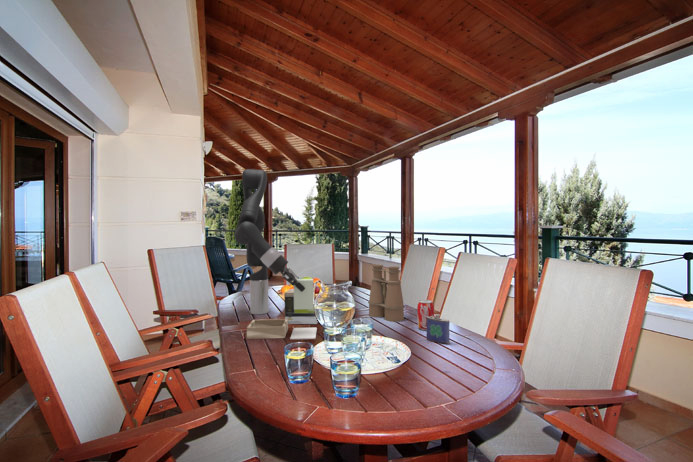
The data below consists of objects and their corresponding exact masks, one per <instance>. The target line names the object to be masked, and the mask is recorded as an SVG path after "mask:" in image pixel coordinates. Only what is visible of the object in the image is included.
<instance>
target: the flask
mask: <svg viewBox="0 0 693 462" xmlns="http://www.w3.org/2000/svg"><path fill="white" fill-rule="evenodd" d="M440 315H441V314H439V313H436V314H435V313H434V316H433V317H432V316H430V317H427V331H426V334H425V335H426V341H428V342H431V343H437V344H441V345H449V344H450V342H451V341H450V320H449V319H447V318H445V319H444V318H440Z"/></svg>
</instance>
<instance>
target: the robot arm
mask: <svg viewBox="0 0 693 462" xmlns="http://www.w3.org/2000/svg"><path fill="white" fill-rule="evenodd" d="M267 174H268V173H267V172H266V171H265V170H264V169H253V168H251V169H250V168H247V169H244V170H243V171H242V174H241V175H242V176H241V177H242V178H241V184H242V190H243V191H242V192H243V198H244V202H243V204H242V206H241V211H240V214H239V219H238V222H237V225H236V227H235V231H234V239H235V241H236V242H237V243H238V244H240V245H244V246H245V245H246V263H247V266H249V267H252V268H253V267H255V268H256V267H260V269H259V270H258V271H255V272H253V273H250V275H249V309H250V311H249V312H250V315H266V314H268V313H269V310H270V309H269V271H268V269H269V270H270V271H271V272H272V273H273V274H274V275H278V274H279V273H280V274H281V277H282V279H284V280H285V281H287V282H288V283H289V284H290V285H291V286H293V287H294V286H296V287H297V288H298V289H299V290H300V291H301V292H303V291H304V290H305V287H304V286H303V285H302V284H301V283H300V282H299V281H298V280H297V279H300V277H299V276H298V275H297V274H296V273H295V272H294V271H293V270H292V268H289V267H287V264H288V263H289V261H288V260H287V259H286V258H285V256H283V255H282V254H281V253H280V252H279V251H278V250H277V249H275V248H274V247H273V246H272V245H271V244H270V243H269V242H268V241H267V240H266V239H265V237H264V235H263V234H262V233H263V231H264V229H265V227H266V226H265V225H266V223H265V220H266V219H265V213H264V210H263V209H262V208H261V206H260V205H261V203H262V200H263V197H264V194H265V192H266V190H267V186H268V184H267V183H268V175H267ZM252 190H255V191H254V192H252Z"/></svg>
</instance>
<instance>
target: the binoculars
mask: <svg viewBox="0 0 693 462" xmlns="http://www.w3.org/2000/svg"><path fill="white" fill-rule="evenodd" d="M372 267H373V269H372V273H373V275H372V278H371V279H370V281H371V284H370V291H369V299H368V300H369V301H368V302H367V303H368V311H369V312H368V316H370V317H373V318H384V320H385V321H387V322H392V323H397V322H402V321H404V320H405V314H404V313H405V305H404V298H403V292H402V291H403V290H402V285H401V284H402V282H401V280H400V279H399V276H400V275H399V274H400V270H399V269H400V266H398V265H397V266H395V265H390V266H388V267H387V268H388V270H387V269H385V268H384V269H383V267H384V264H372ZM387 272H388V280H387V279H386V277H387Z"/></svg>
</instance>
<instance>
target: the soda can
mask: <svg viewBox="0 0 693 462" xmlns="http://www.w3.org/2000/svg"><path fill="white" fill-rule="evenodd" d="M416 312H417V314H416V315H417V318H416V319H417V327H418V328H419V329H420V330H421V331H426V332H427V317H430V316H432V317H433V316H434V317H435V306H434V303H433V300H430V299H420V300H418V303H417V311H416Z"/></svg>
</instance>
